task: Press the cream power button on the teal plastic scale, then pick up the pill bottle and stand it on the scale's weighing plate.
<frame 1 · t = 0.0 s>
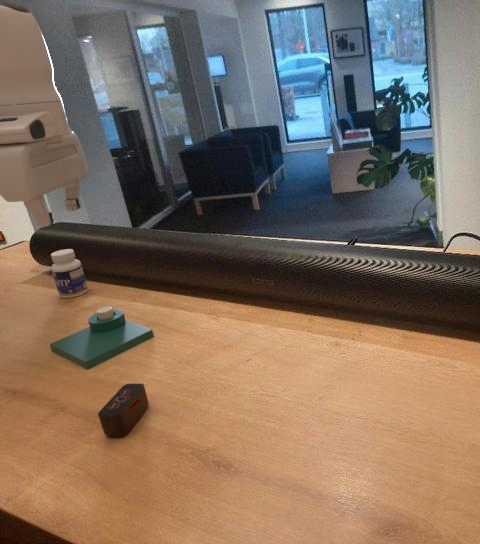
hand: (61, 217, 77), 20 cm above the table, tool pointing down, fingers open, 8 cm apart
pill bottle: (74, 294, 101), on the table
scale: (103, 344, 79), on the table
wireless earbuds: (126, 418, 61), on the table
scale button: (105, 313, 82), point 3 cm above the table, slide at 0.1 cm
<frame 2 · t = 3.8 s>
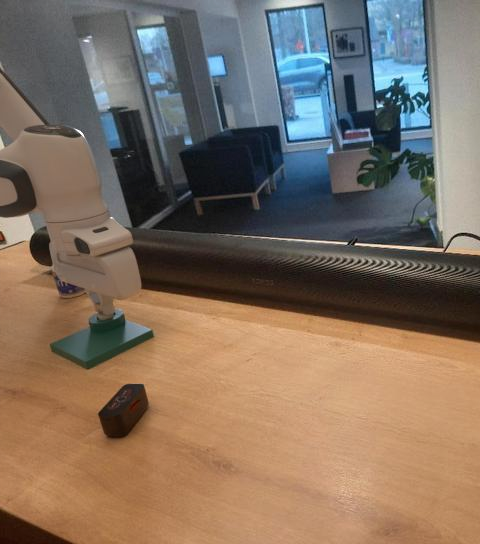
hand: (105, 312, 82), 4 cm above the table, tool pointing down, fingers closed, pressing on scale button
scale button: (106, 316, 82), point 3 cm above the table, slide at -0.5 cm, touching gripper
everything else where it was.
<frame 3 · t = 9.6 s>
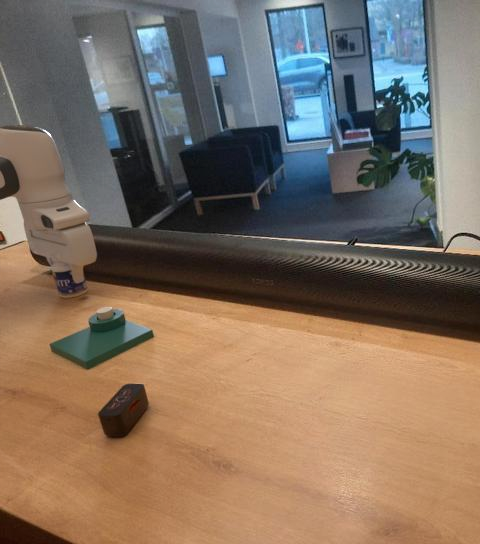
hand: (70, 279, 100), 3 cm above the table, tool pointing down, fingers closed on pill bottle, 5 cm apart
pill bottle: (74, 294, 101), on the table, touching gripper
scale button: (105, 313, 82), point 3 cm above the table, slide at 0.1 cm
everything else where it was.
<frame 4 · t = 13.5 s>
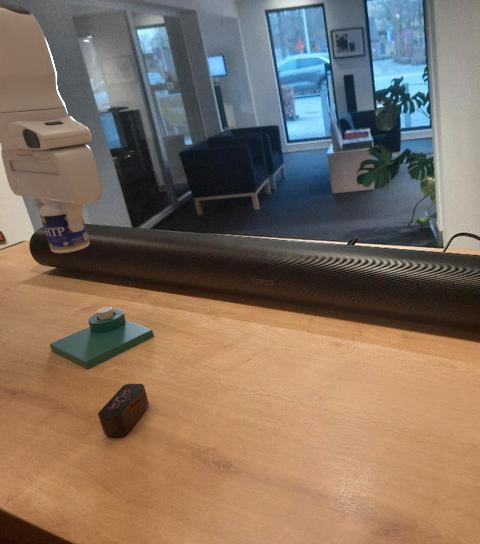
hand: (64, 228, 74), 19 cm above the table, tool pointing down, fingers closed on pill bottle, 5 cm apart
pill bottle: (71, 249, 75), point 16 cm above the table, touching gripper
everything else where it was.
when the fingers open (4 cm above the table, at t = 17.7 s): pill bottle stays where it is, resting on scale.
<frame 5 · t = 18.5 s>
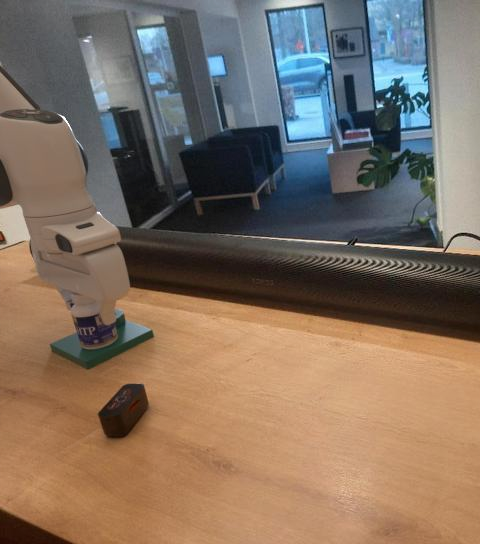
hand: (91, 316, 75), 6 cm above the table, tool pointing down, fingers open, 8 cm apart
pill bottle: (100, 343, 77), point 1 cm above the table, touching scale
everything else where it was.
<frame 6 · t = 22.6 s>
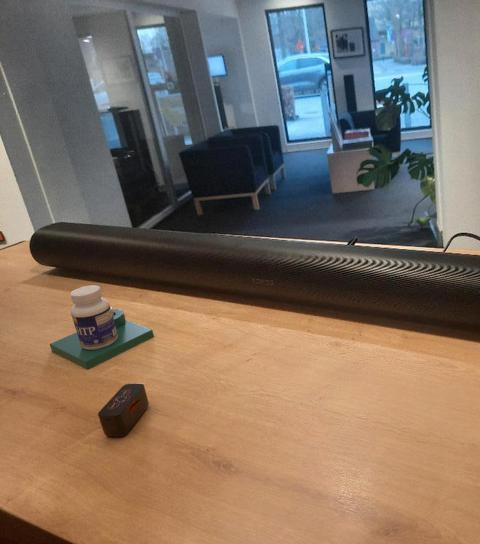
nothing on the table moved.
at the end: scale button pushed in 0.8 cm at the most during the clip, back to where it started at the end; pill bottle inside the target area on the scale (0.2 cm from its centre), point 1.2 cm above the scale's base; pill bottle touching scale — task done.
